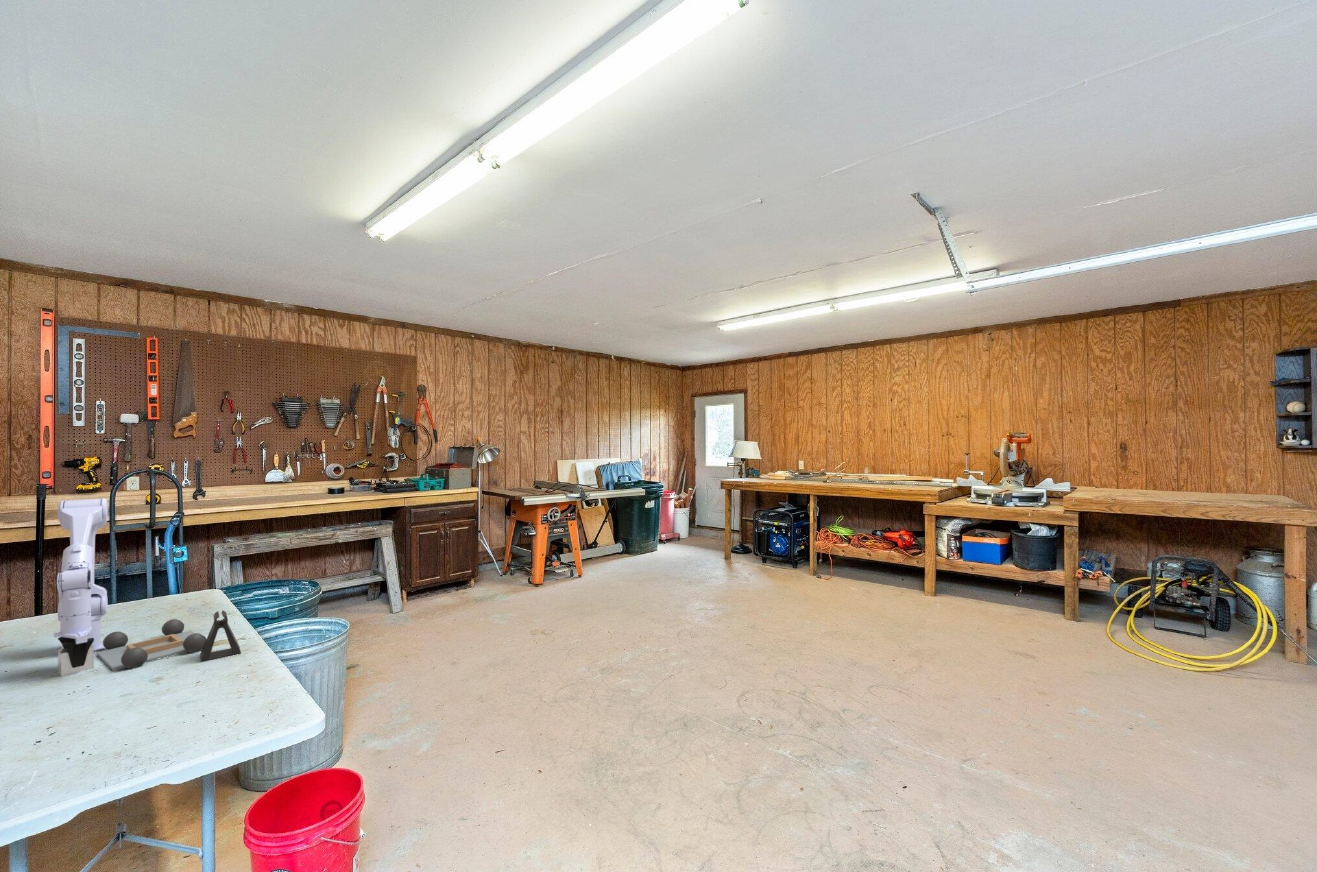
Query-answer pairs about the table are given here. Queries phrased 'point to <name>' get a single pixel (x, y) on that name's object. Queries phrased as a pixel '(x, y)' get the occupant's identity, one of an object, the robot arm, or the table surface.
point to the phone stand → (208, 645)
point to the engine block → (65, 663)
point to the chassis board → (149, 646)
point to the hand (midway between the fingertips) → (76, 663)
